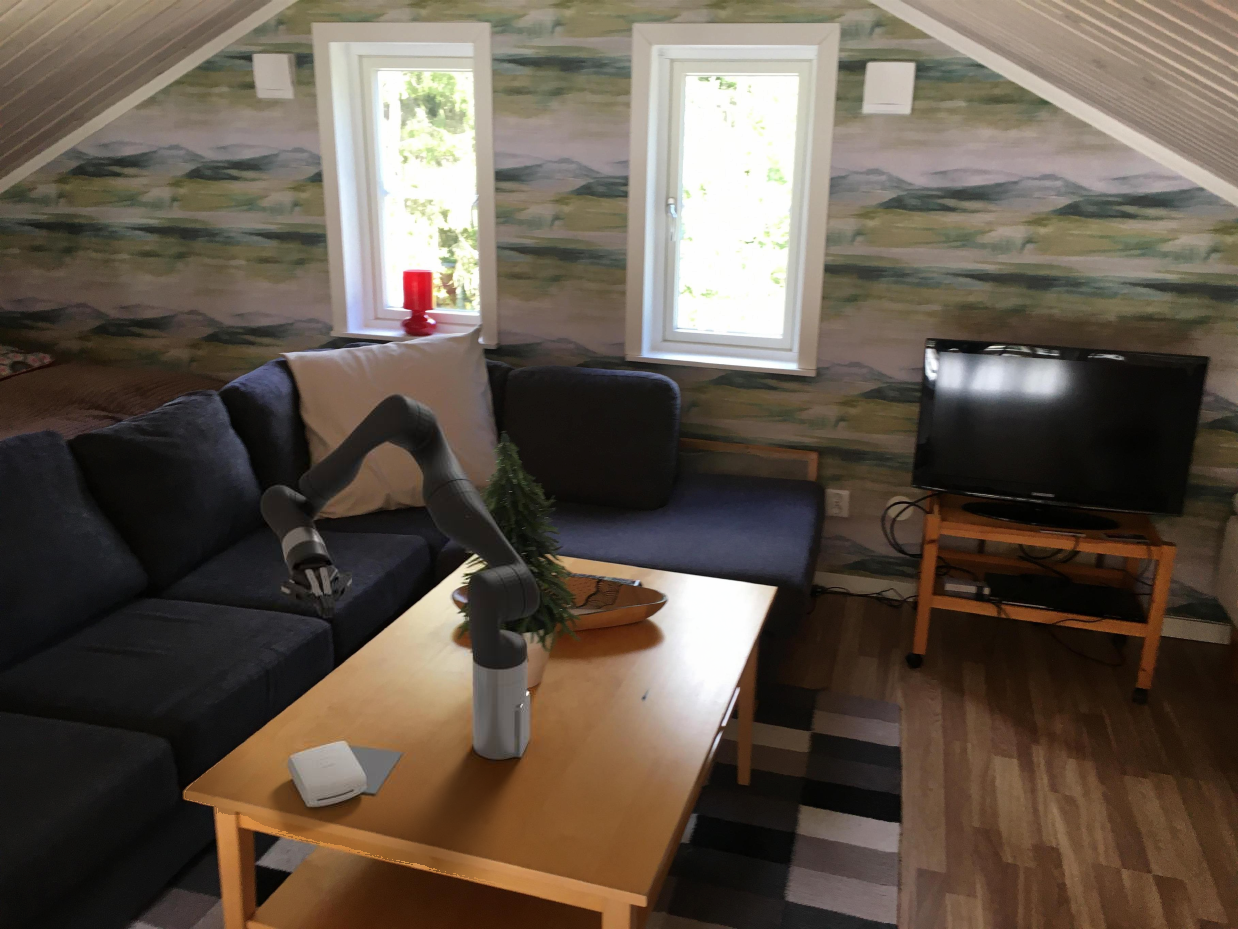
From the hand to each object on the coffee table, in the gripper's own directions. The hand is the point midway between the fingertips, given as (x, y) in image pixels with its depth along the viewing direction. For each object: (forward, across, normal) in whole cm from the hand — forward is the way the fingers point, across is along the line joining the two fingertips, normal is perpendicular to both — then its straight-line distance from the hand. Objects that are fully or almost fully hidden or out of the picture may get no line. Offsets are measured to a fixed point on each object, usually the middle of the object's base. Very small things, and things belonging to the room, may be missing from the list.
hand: (328, 613), depth 177 cm
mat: (+20, +1, +17) cm, 27 cm away
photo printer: (+17, -5, +16) cm, 24 cm away
